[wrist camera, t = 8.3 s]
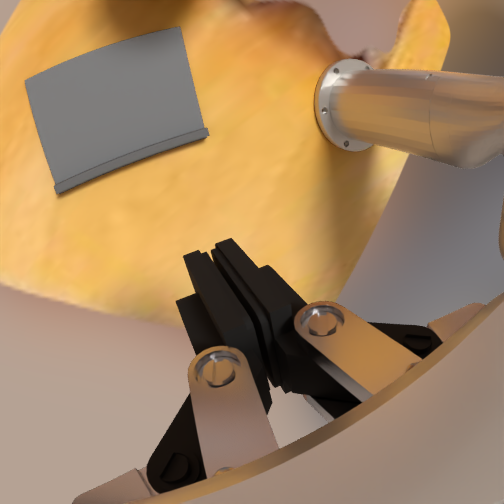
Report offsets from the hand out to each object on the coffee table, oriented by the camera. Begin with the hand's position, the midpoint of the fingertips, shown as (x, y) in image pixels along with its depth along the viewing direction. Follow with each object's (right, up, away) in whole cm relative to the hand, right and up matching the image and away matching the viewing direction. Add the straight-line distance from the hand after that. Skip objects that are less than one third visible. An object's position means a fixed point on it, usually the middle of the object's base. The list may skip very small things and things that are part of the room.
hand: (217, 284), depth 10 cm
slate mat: (-12, +15, +15) cm, 24 cm away
